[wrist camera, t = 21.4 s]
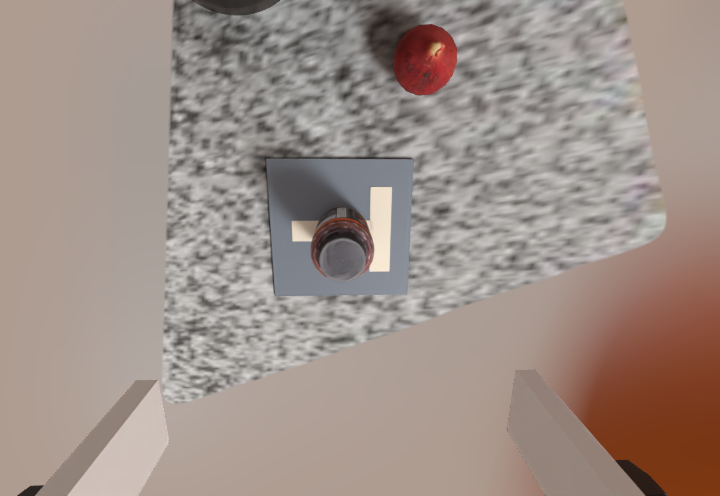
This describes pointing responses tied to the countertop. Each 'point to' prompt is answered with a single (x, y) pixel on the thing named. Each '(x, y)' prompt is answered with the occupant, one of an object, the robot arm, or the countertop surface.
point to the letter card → (330, 190)
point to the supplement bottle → (342, 245)
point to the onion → (425, 59)
